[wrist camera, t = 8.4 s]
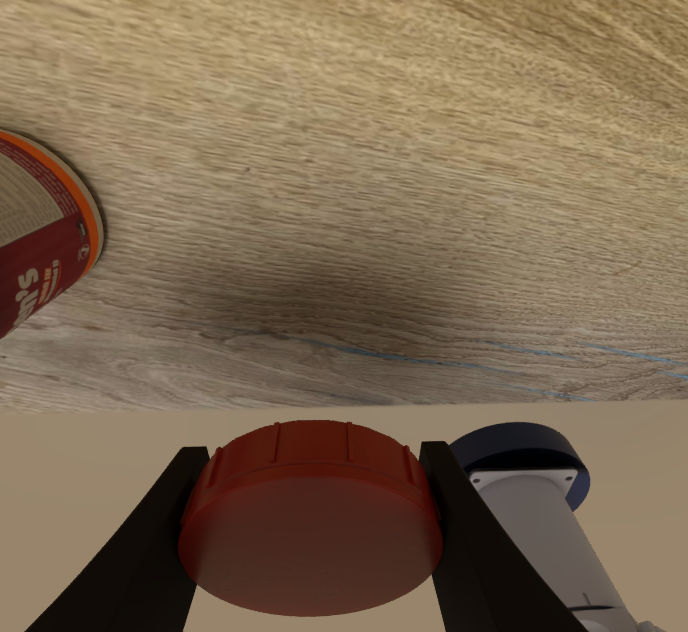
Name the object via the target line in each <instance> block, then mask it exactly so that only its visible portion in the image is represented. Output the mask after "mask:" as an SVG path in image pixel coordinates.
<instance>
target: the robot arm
mask: <svg viewBox="0 0 688 632" xmlns="http://www.w3.org/2000/svg"><path fill="white" fill-rule="evenodd" d="M209 460H210V457H209V454H208V450H207V447H206V446H205V447H203V446H202V447H183V448H182V449H180V450H179V452H178V453H177V455H176V456H175V457H174V459H173V460H172V461H171V462H170V464H169V465H168V466H167V468H166V469H165V470H164V472H163V473H162V474H161V476H160V477H159V478H158V480H157V481H156V482H155V484H154V485H153V486H152V488H151V489H150V490H149V491H148V493H147V494H146V495H145V497H144V498H143V499H142V500H141V502H140V503H139V504H138V505H137V507H136V508H135V509H134V510H133V511H132V513H131V514H130V515H129V517H128V518H127V519H126V520H125V521H124V523H123V524H122V525H121V526H120V528H119V529H118V530H117V531H116V532H115V534H114V535H113V536H112V537H111V538H110V539H109V541H108V542H107V543H106V544H105V545H104V546H103V547H102V549H101V550H100V551H99V552H98V553H97V554H96V556H95V557H94V558H93V559H92V560H91V561H90V562H89V563H88V565H87V566H86V567H85V568H84V569H83V570H82V572H81V573H80V574H79V575H78V576H77V577H76V578H75V579H74V580H73V581H72V582H71V584H70V585H69V586H68V587H67V588H66V589H65V590H64V591H63V592H62V593H61V594H60V595H59V597H58V598H57V599H56V600H55V601H54V602H53V603H52V604H51V605H50V606H49V607H48V608H47V609H46V610H45V611H44V612H43V613H42V614H41V615H40V616H39V617H38V618H37V619H36V620H35V622H34V623H32V624H31V625H30V626H29V627H28V629H27V630H26V631H24V632H183V629H184V626H185V623H186V619H187V616H188V613H189V609H190V606H191V603H192V599H193V596H194V593H195V589H196V586H197V584H196V583H195V582H194V581H193V580H192V579H191V578H190V577H189V575H188V574H187V573H186V572H185V570H184V568H183V566H182V564H181V562H180V559H179V555H178V540H179V536H180V532H181V529H182V526H180V522H181V519H182V516H183V513H184V510H185V507H186V504H187V501H188V499H189V496H190V494H191V492H192V490H193V488H194V485H196V484H197V481H198V478H199V476H200V474H201V472H202V470H203V468H204V467H205V465H206V464H207V463H208V462H209ZM419 462H420V463H421V465H422V466H423V468H424V470H425V472H426V474H427V476H428V480H429V483H430V487H431V490H432V493H433V496H434V499H435V501H436V504H437V507H438V510H439V513H440V516H441V518H442V520H441V522H439V523H440V526H441V530H442V534H443V541H444V548H443V553H442V557H441V559H440V562H439V564H438V566H437V567H436V569H435V570H434V572H433V573H432V578H433V582H434V586H435V590H436V594H437V598H438V602H439V606H440V610H441V614H442V618H443V621H444V626H445V630H446V632H666V631H664V630H662V629H661V628H659V627H656V626H654V625H653V624H652V623H651V622H650V621H645V622H641V623H639V624H638V623H637V622H636V621H635V619H633V617H632V616H631V614H630V613H629V612H628V610H627V608H626V606H625V605H624V603H623V601H622V599H621V598H620V596H619V594H618V592H617V590H616V589H615V587H614V585H613V583H612V582H611V580H610V578H609V576H608V574H607V573H606V571H605V569H604V568H603V565H602V564H601V562H600V560H599V558H598V557H597V555H596V553H595V551H594V550H593V548H592V546H591V544H590V542H589V541H588V539H587V537H586V535H585V534H584V532H583V530H582V528H581V526H580V525H579V523H578V521H577V519H576V518H575V516H574V514H573V512H572V510H571V509H570V507H569V505H568V503H567V502H566V500H565V497H566V495H567V493H568V491H569V489H570V487H571V485H572V483H573V481H574V479H575V477H576V475H577V473H578V472H577V470H576V469H575V467H573V466H547V467H506V468H475V469H472V470H471V471H470V473H469V477H468V476H467V475H466V473H465V472H464V470H463V469H462V467H461V465H460V464H459V462H458V460H457V459H456V457H455V456H454V454H453V452H452V450H451V449H450V447H449V445H448V444H447V443H446V442H445V441H428V442H427V441H426V442H422V443H421V449H420V456H419Z"/></svg>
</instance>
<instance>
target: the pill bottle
mask: <svg viewBox="0 0 688 632" xmlns="http://www.w3.org/2000/svg"><path fill="white" fill-rule="evenodd" d="M103 241H104V236H103V226H102V221H101V217H100V214H99V211H98V208H97V206H96V203H95V201H94V199H93V197H92V195H91V194H90V192H89V190H88V189H87V187H86V186H85V185H84V184H83V182H82V181H81V179H80V178H79V177H78V176H77V175H76V174H75V172H74V171H73V170H72V169H71V168H70V167H69V166H68V165H67V164H66V163H64V162H63V161H62V160H61V159H60V158H58V157H57V156H56V155H54V154H53V153H52V152H50V151H49V150H48V149H46V148H45V147H43V146H41V145H40V144H38V143H36V142H34V141H32V140H30V139H28V138H26V137H23V136H21V135H18V134H16V133H13V132H10V131H6V130H1V129H0V339H1V338H3V337H5V336H6V335H8V334H9V333H10V332H12V331H13V330H14V329H16V328H17V327H18V326H19V325H20V324H21V323H22V322H24V321H25V320H27V319H28V318H29V317H30V316H32V315H33V314H34V313H36V312H37V311H39V310H40V309H42V308H43V307H44V306H45V305H46V304H48V303H49V302H50V301H52V300H53V299H54V298H56V297H57V296H58V295H60V294H61V293H62V292H63V291H65V290H66V289H68V288H69V287H70V286H72V285H73V284H74V283H76V282H77V281H78V280H79V279H80V278H82V277H83V276H84V275H86V274H87V273H88V272H89V271H90V269H91V268H92V267H93V266H94V264H95V263H96V262H97V260H98V258H99V256H100V253H101V250H102V245H103Z"/></svg>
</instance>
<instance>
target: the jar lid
mask: <svg viewBox="0 0 688 632" xmlns="http://www.w3.org/2000/svg"><path fill="white" fill-rule="evenodd" d="M441 520H442V518H441V516H440V513H439V510H438V507H437V504H436V501H435V499H434V496H433V493H432V490H431V487H430V483H429V480H428V476H427V474H426V472H425V470H424V468H423V466H422V465H421V463H420V462H419V461H418V460H417V458H416V457H415V455H413V454H412V452H410V449H409V447H408V446H407V445H406V446H403V445H401V444H400V443H399V442H397V441H396V440H395V439H392V438H391V437H389V436H386V435H384V434H382V433H379V432H377V431H374V430H372V429H370V428H367V427H363V426H360V425H355V424H352V422H347V423H344V422H338V421H330V420H297V421H290V422H285V423H279V422H277V423H274V425H270V426H265V427H263V428H259V429H256V430H254V431H252V432H249V433H247V434H245V435H242V436H240V437H238V438H236V439H235V440H232V441H231V442H230V443H228V444H227V445H226V446H224V447H223V448H221V447H218V448H217V449H216V452H215V454H214V455H213V456H212V457H211V459H210V460H209V462H208V463H207V464H206V465H205V467H204V468H203V470H202V472H201V474H200V476H199V478H198V481H197V484H196V485H194V488H193V490H192V492H191V494H190V496H189V499H188V501H187V504H186V507H185V510H184V513H183V516H182V519H181V522H180V526H182V529H181V532H180V536H179V540H178V555H179V559H180V562H181V564H182V566H183V568H184V570H185V572H186V573H187V574H188V575H189V577H190V578H191V579H192V580H193V581H194V582H195V583H196V584H197V585H198V586H200V587H201V588H203V589H204V590H206V591H207V592H208V593H210V594H212V595H214V596H216V597H218V598H219V599H221V600H224V601H226V602H228V603H231V604H234V605H237V606H239V607H242V608H246V609H250V610H254V611H258V612H263V613H269V614H275V615H284V616H299V617H308V616H309V617H310V616H311V617H313V616H314V617H315V616H331V615H340V614H346V613H352V612H357V611H362V610H366V609H370V608H373V607H376V606H379V605H382V604H385V603H388V602H390V601H393V600H395V599H397V598H399V597H401V596H403V595H405V594H407V593H409V592H410V591H412V590H413V589H415V588H417V587H418V586H419V585H420V584H422V583H423V582H424V581H425V580H426V579H427V578H428V577H429V576H430V575H431V574H432V573H433V572H434V570H435V569H436V567H437V566H438V564H439V562H440V559H441V557H442V553H443V548H444V541H443V534H442V530H441V526H440V523H439V522H441Z"/></svg>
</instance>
